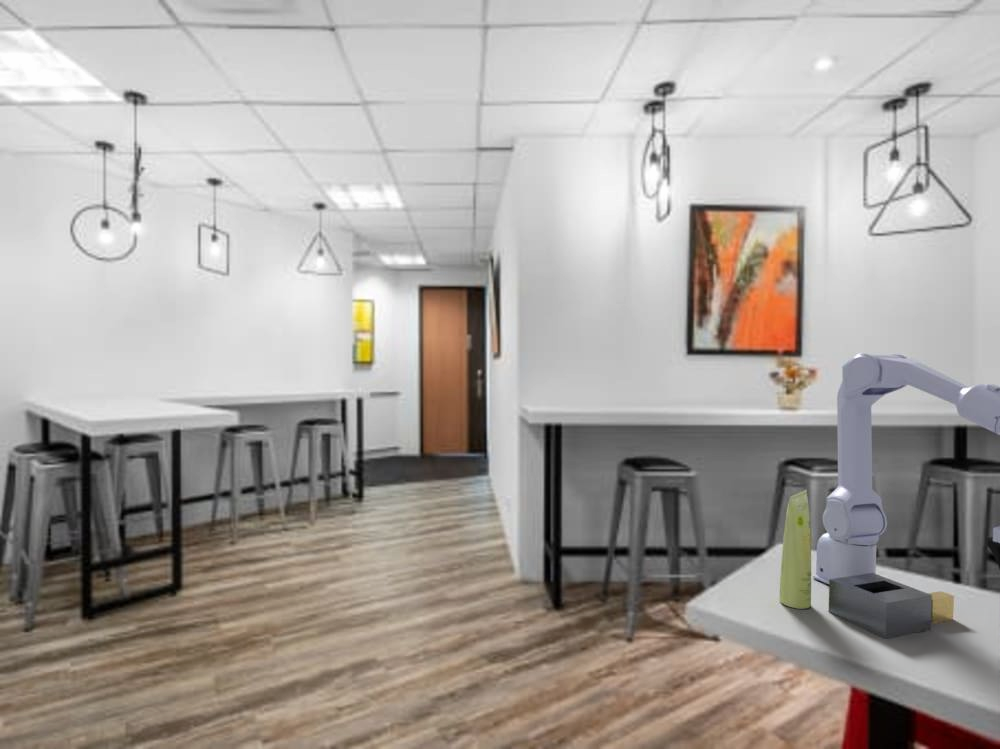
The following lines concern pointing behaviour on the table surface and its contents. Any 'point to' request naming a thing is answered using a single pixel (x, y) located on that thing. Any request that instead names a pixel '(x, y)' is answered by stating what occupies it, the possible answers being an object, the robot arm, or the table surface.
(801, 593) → the tube
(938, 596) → the block
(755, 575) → the table surface
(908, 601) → the box
